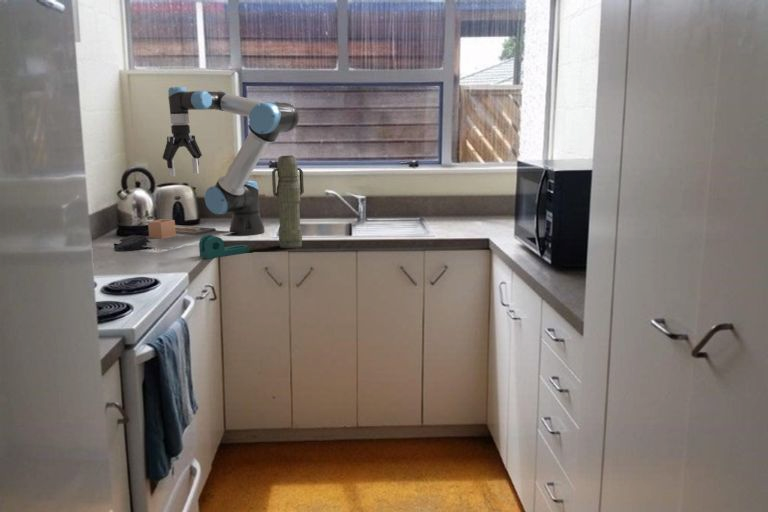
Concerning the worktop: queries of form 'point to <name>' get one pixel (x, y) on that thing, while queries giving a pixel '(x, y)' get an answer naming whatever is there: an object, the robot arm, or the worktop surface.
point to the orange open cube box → (161, 228)
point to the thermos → (288, 201)
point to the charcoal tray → (204, 230)
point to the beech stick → (187, 229)
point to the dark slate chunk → (132, 244)
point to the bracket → (218, 248)
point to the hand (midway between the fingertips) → (184, 174)
